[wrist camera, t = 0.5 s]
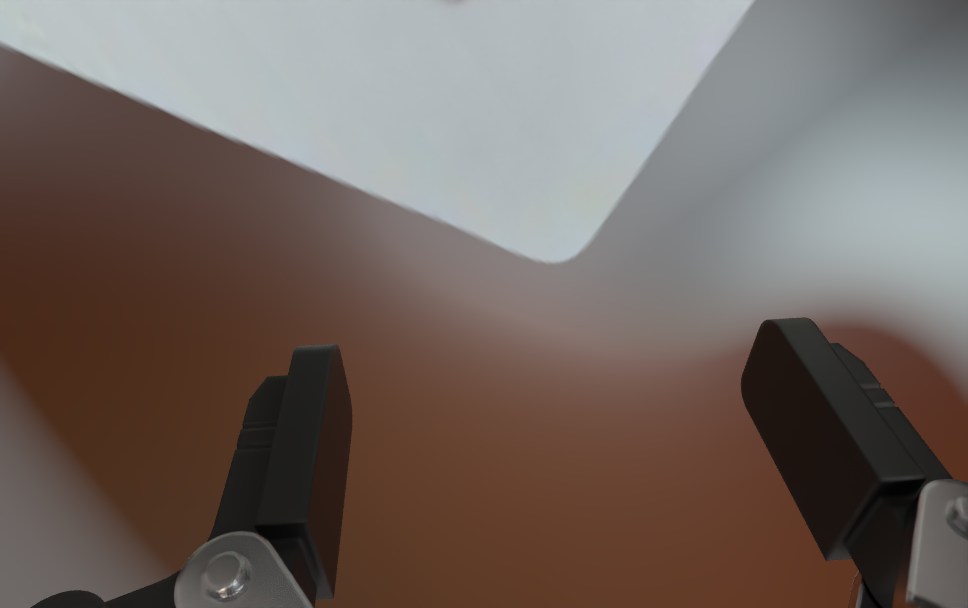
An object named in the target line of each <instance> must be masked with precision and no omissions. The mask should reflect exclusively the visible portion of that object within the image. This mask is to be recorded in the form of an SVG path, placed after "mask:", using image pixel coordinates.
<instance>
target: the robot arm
mask: <svg viewBox="0 0 968 608" xmlns="http://www.w3.org/2000/svg"><path fill="white" fill-rule="evenodd" d="M741 393H742V398H743V401H744V404H745V406H746V409H747V411H748V412H749V414H750V416H751V418H752V420H753V422H754V424H755V426H756V428H757V430H758V432H759V433H760V436H761V437H762V439H763V441H764V443H765V445H766V447H767V449H768V451H769V453H770V455H771V457H772V459H773V460H774V462H775V464H776V466H777V468H778V470H779V472H780V474H781V476H782V478H783V480H784V482H785V483H786V485H787V487H788V489H789V491H790V493H791V495H792V497H793V499H794V501H795V502H796V504H797V506H798V508H799V510H800V512H801V514H802V516H803V518H804V520H805V522H806V524H807V526H808V528H809V529H810V531H811V533H812V535H813V537H814V539H815V541H816V543H817V545H818V547H819V549H820V551H821V552H822V554H823V556H824V558H825V560H826V561H830V560H843V559H853V561H854V563H855V565H856V566H857V568H858V570H859V572H858V573H857V575H856V576H855V578H854V581H853V585H852V590H851V595H850V600H849V605H848V608H968V483H967V482H964V481H960V480H955V479H953V478H952V476H951V475H950V474H949V473H948V471H947V470H946V469H945V468H944V466H943V465H942V464H941V462H940V461H939V460H938V458H937V457H936V456H935V455H934V453H933V452H932V451H931V449H930V448H929V447H928V445H927V444H926V443H925V441H924V440H923V439H922V438H921V436H920V435H919V434H918V432H917V431H916V430H915V428H914V427H913V426H912V425H911V423H910V422H909V421H908V419H907V418H906V417H905V415H904V414H903V413H902V411H901V410H900V409H899V408H898V407H895V406H894V401H893V400H892V398H891V397H890V396H889V395H888V393H887V392H886V391H885V389H881V387H880V383H879V382H878V380H877V379H876V378H875V376H874V375H873V374H872V372H871V371H870V370H869V368H868V367H867V366H866V365H865V363H864V362H863V361H862V360H860V359H859V358H858V357H856V356H855V355H853V354H852V353H851V352H849V351H848V350H847V349H845V348H844V347H843V346H841V345H840V344H839V343H829V342H828V340H827V339H826V338H825V336H824V335H823V334H822V332H821V331H820V330H819V328H818V327H817V325H816V324H815V323H814V322H813V321H812V320H811V319H809V318H789V319H772V320H766V321H764V322H763V323H762V324H761V326H760V328H759V331H758V333H757V336H756V339H755V341H754V344H753V347H752V349H751V352H750V355H749V358H748V361H747V363H746V366H745V369H744V371H743V374H742V378H741ZM242 425H243V429H241V431H240V435H239V438H238V442H237V450H235V453H234V456H233V460H232V463H231V467H230V470H229V474H228V477H227V481H226V485H225V488H224V492H223V495H222V499H221V502H220V506H219V509H218V513H217V517H216V520H215V524H214V527H213V530H212V532H211V535H210V537H209V539H208V541H207V542H206V543H205V544H204V545H203V546H201V547H200V548H199V549H198V550H196V551H195V553H193V554H192V555H191V556H190V558H189V559H188V560H187V561H186V563H185V564H184V566H183V567H182V569H181V570H179V571H178V572H176V573H175V574H173V575H171V576H170V577H168V578H166V579H164V580H161V581H159V582H157V583H154V584H152V585H149V586H146V587H144V588H141V589H139V590H136V591H133V592H131V593H128V594H126V595H123V596H120V597H118V598H115V599H112V600H110V601H107V602H104V601H103V600H102V599H101V598H100V597H99V596H97V595H95V594H94V593H91V592H88V591H81V590H77V591H76V590H74V591H67V592H62V593H59V594H56V595H53V596H51V597H48V598H46V599H44V600H42V601H40V602H39V603H37V604H36V605H34V606H32V607H31V608H315V600H319V599H332V598H334V591H335V582H336V573H337V572H336V571H337V564H338V555H339V545H340V536H341V527H342V518H343V508H344V499H345V490H346V481H347V471H348V462H349V453H350V444H351V435H352V406H351V398H350V394H349V389H348V385H347V380H346V376H345V371H344V367H343V362H342V358H341V353H340V349H339V346H338V345H337V344H328V345H311V346H297V347H296V348H295V349H294V352H293V355H292V360H291V365H290V368H289V373H288V375H287V376H273V377H272V376H271V377H267V378H266V379H265V380H264V382H263V383H262V384H261V385H260V387H259V388H258V389H257V390H256V392H255V393H254V394H253V395H252V397H251V398H250V399H249V403H248V406H247V410H246V413H245V417H244V421H243V424H242Z"/></svg>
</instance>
